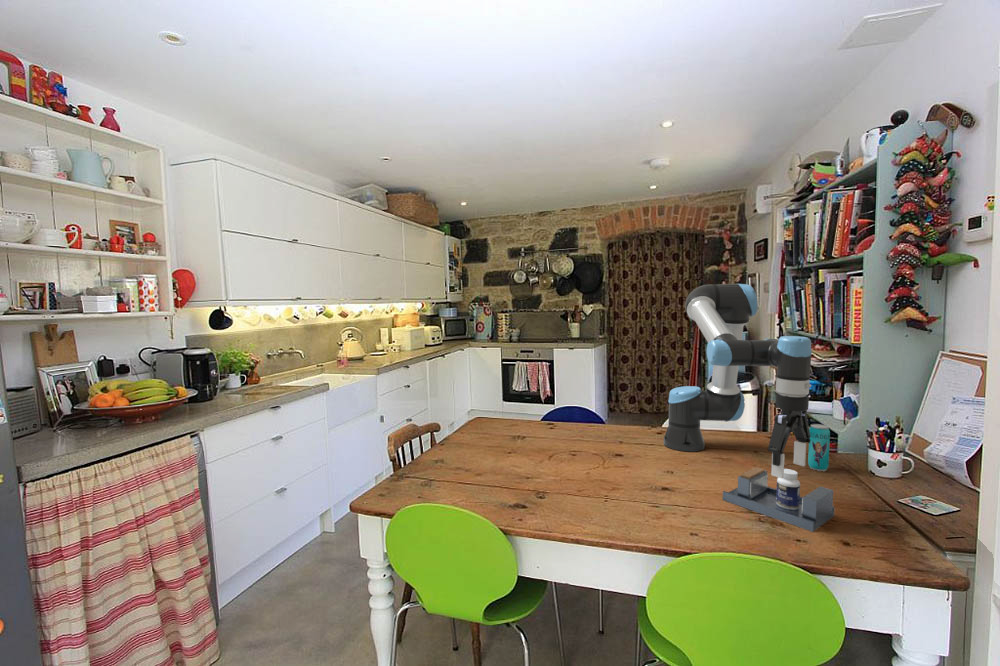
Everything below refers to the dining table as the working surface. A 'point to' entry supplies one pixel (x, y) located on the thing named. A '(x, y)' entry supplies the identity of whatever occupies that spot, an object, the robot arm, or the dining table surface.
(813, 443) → the beverage can
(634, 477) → the dining table surface
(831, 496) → the vise bed
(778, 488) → the pill bottle
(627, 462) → the dining table surface
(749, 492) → the sliding jaw
